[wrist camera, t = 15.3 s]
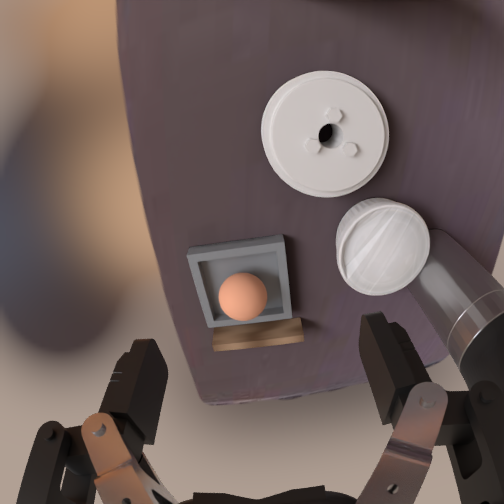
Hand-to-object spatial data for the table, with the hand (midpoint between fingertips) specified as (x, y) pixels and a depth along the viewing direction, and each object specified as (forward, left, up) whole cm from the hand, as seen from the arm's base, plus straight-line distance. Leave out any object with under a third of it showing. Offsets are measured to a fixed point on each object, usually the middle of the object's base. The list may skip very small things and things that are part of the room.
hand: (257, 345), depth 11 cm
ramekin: (-16, -1, -24) cm, 29 cm away
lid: (-4, -8, -25) cm, 26 cm away
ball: (-5, +12, -21) cm, 24 cm away
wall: (-10, +18, -24) cm, 32 cm away
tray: (-5, +12, -24) cm, 27 cm away
